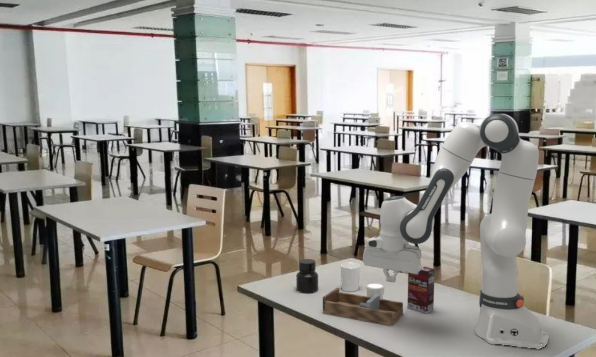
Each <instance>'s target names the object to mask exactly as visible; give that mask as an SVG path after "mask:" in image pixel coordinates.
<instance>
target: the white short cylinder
mask: <svg viewBox="0 0 596 357" xmlns="http://www.w3.org/2000/svg"><path fill="white" fill-rule="evenodd" d="M365 288H366V289H365V290H366V296H367V297H373V296H374V295H375V294H378V295H380V299H384V292H385V285H383V284H382V283H377V282H375V283H374V282H371V283H367V284H366V285H365Z"/></svg>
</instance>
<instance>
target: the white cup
mask: <svg viewBox="0 0 596 357" xmlns="http://www.w3.org/2000/svg"><path fill="white" fill-rule="evenodd" d="M340 279H341V280H340V281H341V289H342V291H345V292H347V293H349V292H357V291H359V289H360V279H361V264H359V263H357V262H343V263H341V264H340Z"/></svg>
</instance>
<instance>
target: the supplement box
mask: <svg viewBox="0 0 596 357" xmlns="http://www.w3.org/2000/svg"><path fill="white" fill-rule="evenodd" d="M407 273H408V272H407ZM435 273H436V269H435V268H432V267H428V266H423V265H421V270H420V271H419V272H418V273H417V274H414V273H408V274H407V276H408V278H407V306H406V308H407V309H409V310H410V309H411V310H414V311H417V312H420V313H421V312H422V313H425V314H429V313H431V312H433V311H434V306H435V305H434V302H435V301H434V300H435V299H434V298H435Z"/></svg>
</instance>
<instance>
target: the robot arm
mask: <svg viewBox="0 0 596 357" xmlns="http://www.w3.org/2000/svg"><path fill="white" fill-rule="evenodd" d="M519 132H520V130H519V126H518V123H517V122H516V120H515V119H514V118H513V117H512V116H510V115H508V114H506V113H494V114H490V115H489V116H487V117H485V119H484V120H482V123H481V124H476V123H473V122H471V121H460V122H459V123H457V124H456V125H455V126H454V127H453V129H452V130H451V131H450V133H448V136H446V138H445V140H444V141H443V143H442V144H441V147H440V149H439V151H438V153H437V156H436V158H435V160H434V164H433V167H432V172H431V176H430V180H429V183H428V185H427V187H426V189H425V191H424V193H423V194H422V196H421V198H420V200H419V202H418V203H417V204H415V203H414V202H412V201H410V200H409V199H407V198H406V197H405V196H402V195H394V196H389V197H387V198H385V199H384V200H383V201H382V203H381V207H380V217H379V222H380V230H379V235H376V236H373V237H371V238H368V239H367V240H366V241H365V246H366V247H365V248H364V250H363V254H362V263H363V265H364V266H366V267H373V268H376V269H377V268H378V269H383V270H382V272H383V274H384V277H385V282H388V283H389V282H390V283H396V279H397V276H398V274H399V273H400V272H403V273H414V274H417V273H418V272H419V271H420V270H421V266H422V262H421V258H422V250H421V248H420V247H418V246H417V245H420V244H423V243H425V242H427V241H428V240H429V238H430V237H431V235H432V230H433V228H434V225H435V215H436V214H437V212H438V210H439V208H440V206H441V204H443V201H444V199H445V197H446V196H447V194H448V193H449V192H450V190H451V189H452V188H454V186H455V185H456V184H457V183H458V182H459V181H460V180H461V179H462V177H463V176H464V175H465V174H466V173H467V171H468V170H469V168H470V166H471V165H472V164H473V161H474V160H475V159H476V157H477V154H478V153H479V152H480V150H481V149H482V148H484V147H489V148H491V149H492V150H495V151H496V152H498V153H500V154H501V162H500V166H499V170H498V173H497V177H496V181H495V185H494V189H493V192H492V206H491V213H488V214H487V215H485V216H484V217H483V218H482V219H481V221H480V225H479V236H480V237H479V239H480V255H481V256H480V258H481V289H480V290H479V298H478V299H479V300H478V304H479V312H478V318H477V322H476V325H475V329H474V333H475V334H476V336H478V337H480V338H481V339H483V340H485V341H486V342H487V343H488V344H490V345H495V344H502V345H501V346H504V345H512V346H517V347H516V348H521V347H530V348H540V347H543V346H544V345H545V344H546V343H547V342H548V343H549V341H548V338H549V335H548V333H547V332H545V330H544V331H543V330H542V325H541V321H540V319H539V317H538V316H536V315H535V314H534V313H533V312H532V311H531V310H529V309H528V308H527V307H526V306H524V304H525V302H524V300H525V298H524V297H525V296H524V294H522V295H521V293H518V283H519V267H518V261H517V256H518V255H520V254H522V252H523V251H524V249H525V248H526V244H527V243H526V242H527V241H526V231H527V225H528V224H527V223H528V214H529V206H530V201H531V197H532V192H533V189H534V185H535V181H536V178H537V173H538V168H539V160H540V159H539V158H540V152H539V148H538V147H537V145H535V143H532V142H531V141H528V140H524V139H522V138H521V137H520V133H519ZM406 242H408V243H410V244H413V245H409V244H406ZM389 270H391V271H393V272H392V273H393V275H390V272H389ZM541 344H542V345H541ZM512 346H511V347H512ZM530 348H529V349H530Z"/></svg>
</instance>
